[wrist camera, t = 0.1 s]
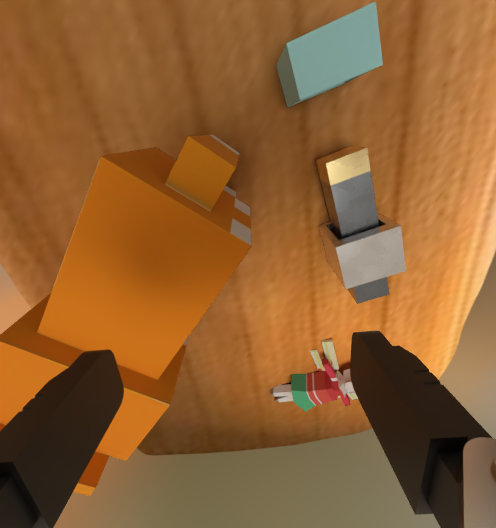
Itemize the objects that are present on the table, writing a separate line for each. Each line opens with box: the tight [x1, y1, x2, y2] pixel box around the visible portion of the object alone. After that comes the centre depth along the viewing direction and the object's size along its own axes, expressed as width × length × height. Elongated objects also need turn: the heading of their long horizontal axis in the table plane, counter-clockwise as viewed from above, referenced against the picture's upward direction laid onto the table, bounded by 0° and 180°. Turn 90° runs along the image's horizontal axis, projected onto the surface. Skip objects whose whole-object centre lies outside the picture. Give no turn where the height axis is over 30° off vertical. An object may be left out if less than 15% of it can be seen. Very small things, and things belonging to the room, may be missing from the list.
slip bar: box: [316, 146, 389, 304], centre depth 27 cm, size 16×4×4 cm, turn 21°
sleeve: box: [319, 212, 406, 289], centre depth 28 cm, size 5×6×6 cm
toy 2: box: [271, 339, 358, 411], centre depth 41 cm, size 15×4×15 cm
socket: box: [276, 2, 383, 108], centre depth 21 cm, size 4×6×6 cm, turn 111°
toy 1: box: [0, 135, 252, 496], centre depth 23 cm, size 10×30×20 cm, turn 147°
